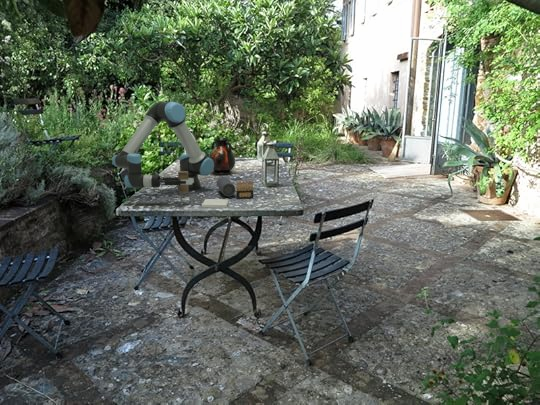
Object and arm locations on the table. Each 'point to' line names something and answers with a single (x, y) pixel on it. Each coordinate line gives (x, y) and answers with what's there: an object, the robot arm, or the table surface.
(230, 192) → the bluetooth speaker
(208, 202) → the plate
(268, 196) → the table surface
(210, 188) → the table surface
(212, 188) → the table surface
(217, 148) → the amphora vase
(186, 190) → the walnut block
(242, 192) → the ammunition clip
